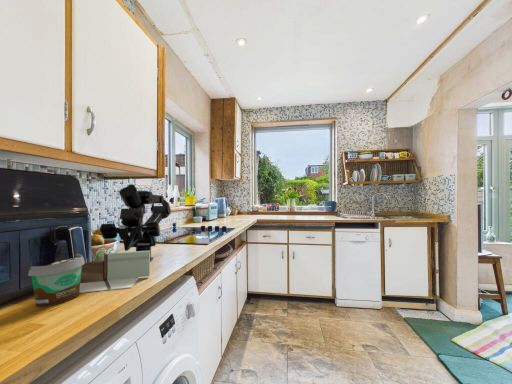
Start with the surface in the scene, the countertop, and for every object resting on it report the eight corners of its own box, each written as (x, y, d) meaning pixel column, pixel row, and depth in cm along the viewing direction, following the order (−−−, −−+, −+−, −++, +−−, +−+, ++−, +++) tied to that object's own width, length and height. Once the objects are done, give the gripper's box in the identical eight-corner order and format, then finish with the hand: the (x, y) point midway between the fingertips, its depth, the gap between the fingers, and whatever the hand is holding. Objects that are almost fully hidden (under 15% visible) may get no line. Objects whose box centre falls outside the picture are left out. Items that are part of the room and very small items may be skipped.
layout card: (85, 277, 77) (85, 276, 77) (142, 272, 81) (142, 271, 81) (59, 295, 62) (59, 293, 62) (131, 288, 67) (131, 286, 67)
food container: (49, 312, 53) (48, 268, 53) (28, 309, 54) (27, 267, 54) (96, 289, 65) (96, 254, 65) (78, 287, 66) (78, 252, 66)
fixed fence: (79, 282, 72) (79, 255, 72) (108, 279, 73) (108, 253, 74) (76, 284, 70) (77, 256, 70) (106, 281, 72) (106, 254, 72)
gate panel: (109, 278, 74) (109, 253, 74) (150, 274, 76) (149, 250, 77) (107, 279, 72) (107, 254, 72) (149, 276, 75) (149, 251, 75)
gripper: (101, 200, 81) (86, 237, 70) (158, 199, 86) (152, 234, 74) (110, 221, 89) (97, 257, 78) (162, 219, 93) (157, 253, 82)
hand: (126, 250), depth 78 cm, fingers closed
